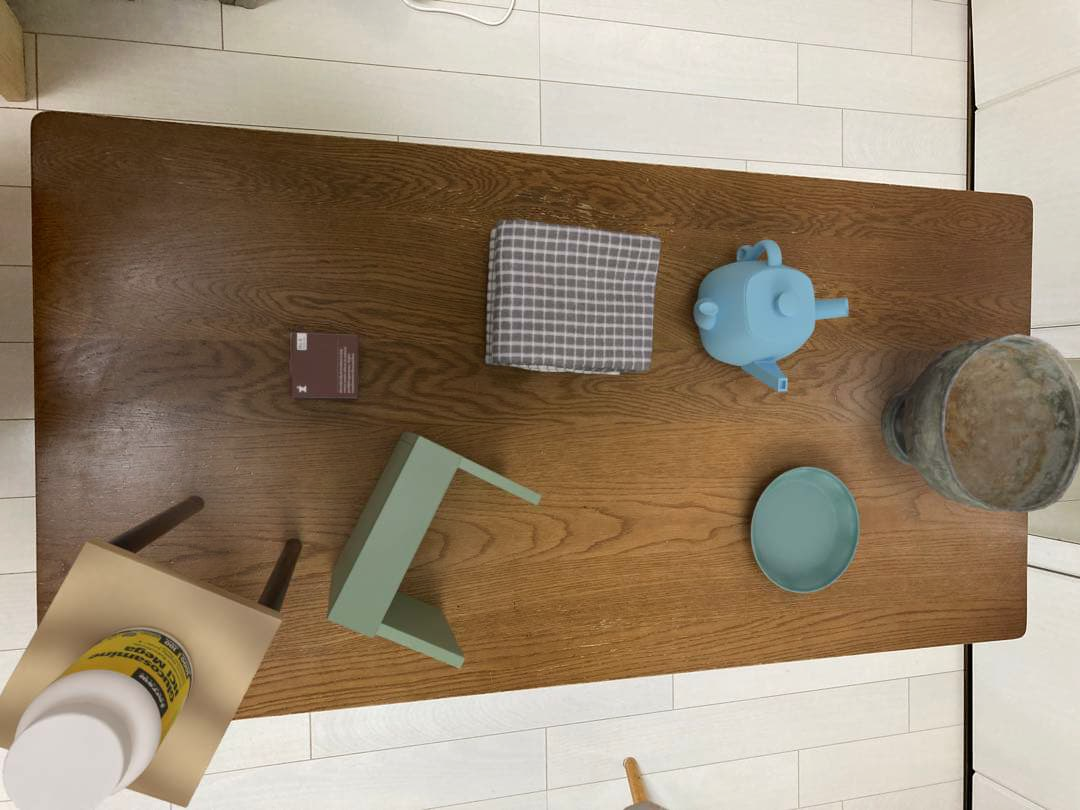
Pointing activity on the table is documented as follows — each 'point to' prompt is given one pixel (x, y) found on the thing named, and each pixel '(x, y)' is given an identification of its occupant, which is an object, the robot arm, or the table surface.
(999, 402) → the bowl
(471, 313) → the table surface
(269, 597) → the stand legs
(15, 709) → the stand
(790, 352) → the teapot
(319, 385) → the box
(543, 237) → the towel
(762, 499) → the saucer
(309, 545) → the table surface
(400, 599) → the cubby
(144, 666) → the pill bottle
